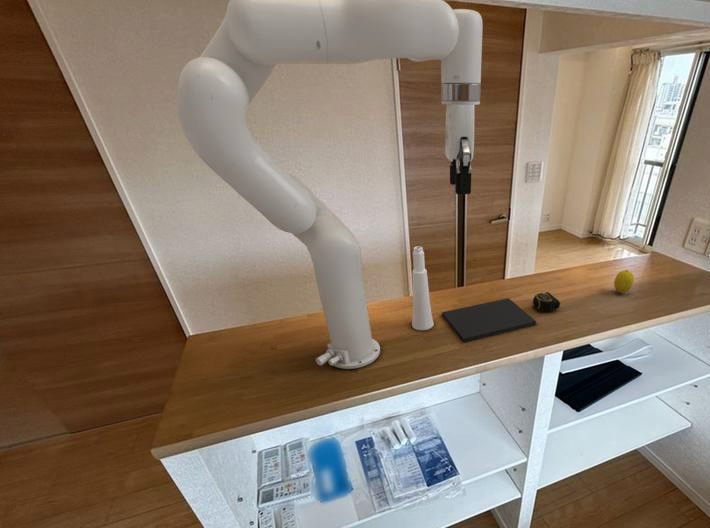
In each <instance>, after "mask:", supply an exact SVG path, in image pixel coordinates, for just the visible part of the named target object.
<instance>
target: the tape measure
mask: <svg viewBox="0 0 710 528" xmlns="http://www.w3.org/2000/svg"><path fill="white" fill-rule="evenodd" d="M532 299H533V300H532V305H533V307H534V308H535V309H537V310H538V311H541V312H551V311H554V310H557V309H559V308H560V306H561V302H560V300H558V299H557V297H555V296H554V295H553V294H551V292H549V291H546V292H539V293H536V294H535V295H534V297H533V298H532Z"/></svg>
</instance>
